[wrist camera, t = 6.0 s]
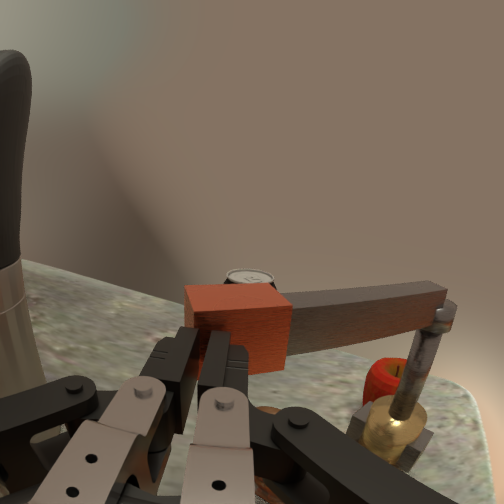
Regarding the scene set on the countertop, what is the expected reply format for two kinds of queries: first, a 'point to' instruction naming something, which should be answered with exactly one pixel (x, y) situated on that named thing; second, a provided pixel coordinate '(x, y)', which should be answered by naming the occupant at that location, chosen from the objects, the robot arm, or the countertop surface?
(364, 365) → the countertop surface
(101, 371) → the countertop surface
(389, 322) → the valve lever
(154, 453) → the robot arm
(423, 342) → the valve base
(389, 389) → the apple
